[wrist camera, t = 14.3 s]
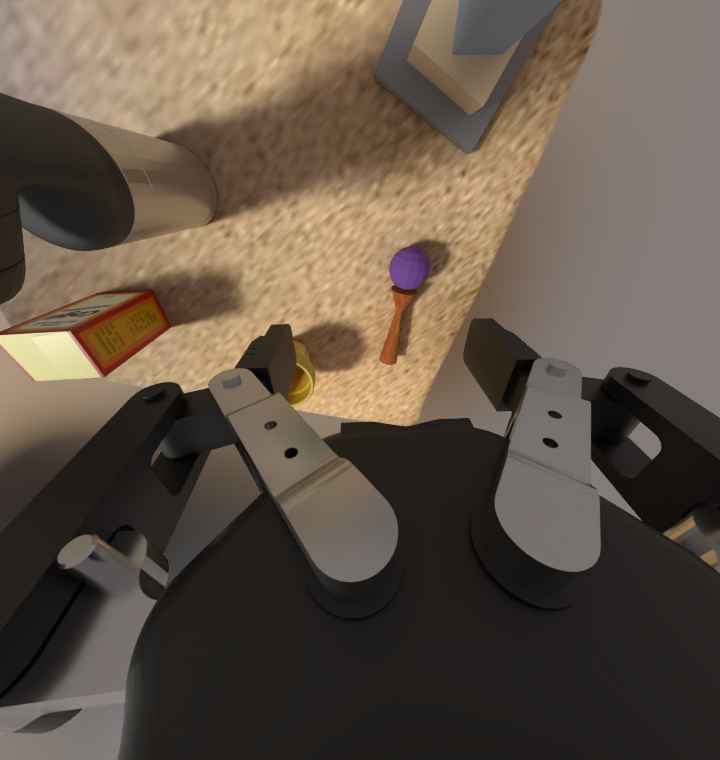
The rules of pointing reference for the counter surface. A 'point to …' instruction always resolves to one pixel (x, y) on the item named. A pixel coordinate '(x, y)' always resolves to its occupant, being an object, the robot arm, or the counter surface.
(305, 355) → the plant pot
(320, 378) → the counter surface
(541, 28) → the plate
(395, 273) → the kendama
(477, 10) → the slate column
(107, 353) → the baking soda box
